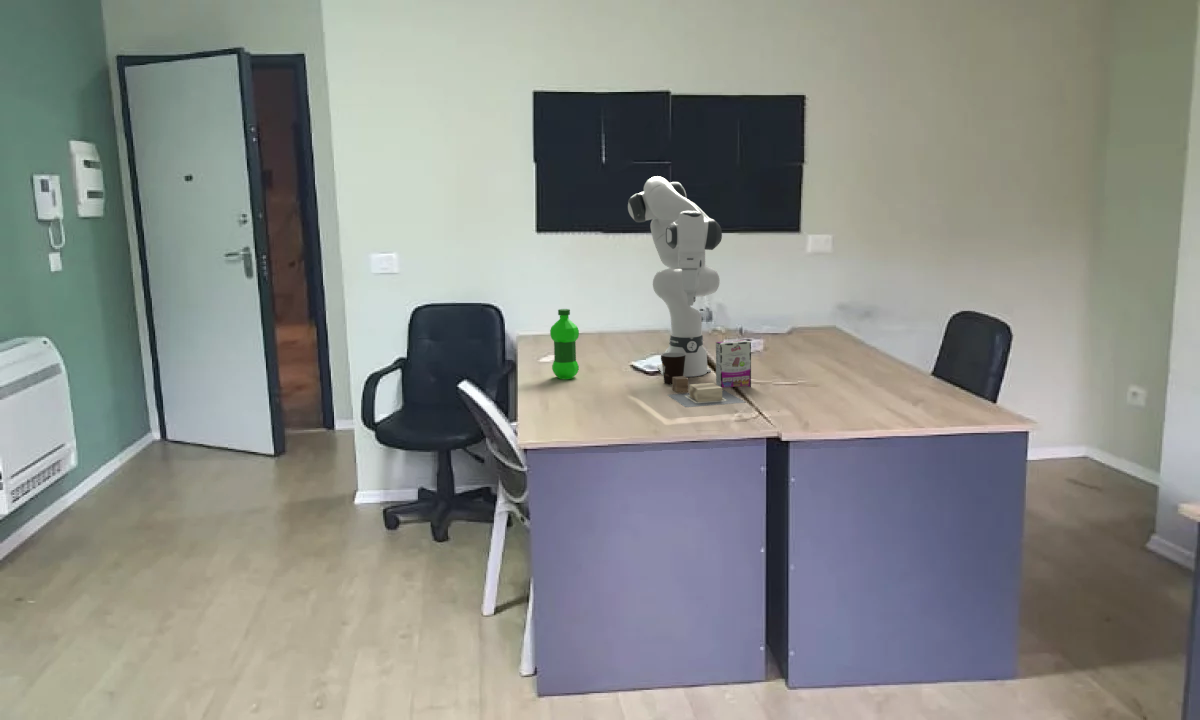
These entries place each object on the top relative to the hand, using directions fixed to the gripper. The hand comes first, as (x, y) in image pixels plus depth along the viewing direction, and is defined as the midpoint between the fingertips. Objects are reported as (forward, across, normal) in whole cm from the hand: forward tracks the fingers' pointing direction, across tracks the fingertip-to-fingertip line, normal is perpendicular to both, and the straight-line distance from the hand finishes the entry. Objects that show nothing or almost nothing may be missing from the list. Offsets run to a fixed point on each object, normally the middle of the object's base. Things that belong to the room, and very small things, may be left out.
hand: (691, 303), depth 306 cm
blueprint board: (+30, +12, +5) cm, 33 cm away
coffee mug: (+30, -19, -8) cm, 37 cm away
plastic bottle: (+30, -22, -48) cm, 60 cm away
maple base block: (+29, +12, +5) cm, 32 cm away
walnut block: (+30, +2, -4) cm, 31 cm away
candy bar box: (+30, -9, +13) cm, 34 cm away
